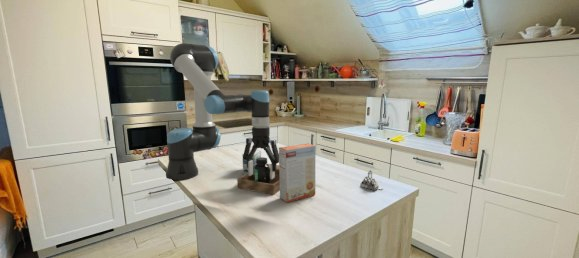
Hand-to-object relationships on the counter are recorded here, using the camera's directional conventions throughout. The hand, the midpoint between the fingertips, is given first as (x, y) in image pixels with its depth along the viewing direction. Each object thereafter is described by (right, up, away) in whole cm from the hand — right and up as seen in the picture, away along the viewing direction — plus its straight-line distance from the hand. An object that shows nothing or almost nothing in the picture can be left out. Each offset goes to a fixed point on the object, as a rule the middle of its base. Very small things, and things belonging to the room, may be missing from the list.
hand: (261, 176), depth 118 cm
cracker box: (+15, -7, -10) cm, 19 cm away
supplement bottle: (0, -4, +1) cm, 4 cm away
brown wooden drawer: (0, -5, +1) cm, 5 cm away
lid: (+5, +1, +11) cm, 12 cm away
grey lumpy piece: (+50, -5, +2) cm, 50 cm away
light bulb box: (-7, -2, +22) cm, 23 cm away
